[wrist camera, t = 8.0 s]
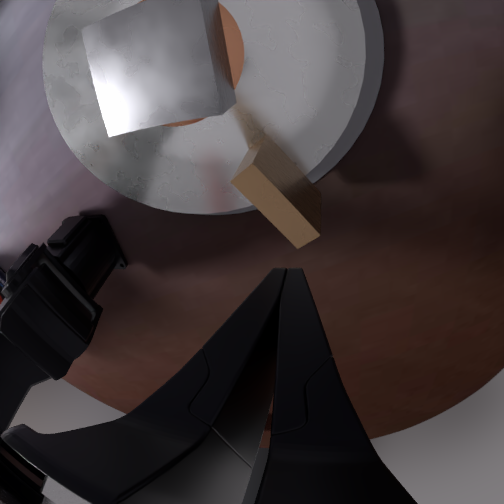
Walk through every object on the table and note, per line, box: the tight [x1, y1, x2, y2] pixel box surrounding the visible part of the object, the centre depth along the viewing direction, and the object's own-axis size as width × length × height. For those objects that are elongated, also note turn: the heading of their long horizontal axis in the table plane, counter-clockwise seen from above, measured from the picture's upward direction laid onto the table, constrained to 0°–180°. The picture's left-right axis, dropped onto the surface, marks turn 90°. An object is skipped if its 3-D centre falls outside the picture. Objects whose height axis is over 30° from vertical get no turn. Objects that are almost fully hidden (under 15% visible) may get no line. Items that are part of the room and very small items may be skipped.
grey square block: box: [81, 0, 237, 137], centre depth 14 cm, size 7×7×3 cm
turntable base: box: [199, 0, 384, 215], centre depth 16 cm, size 25×25×1 cm
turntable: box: [43, 0, 366, 249], centre depth 14 cm, size 22×22×6 cm
